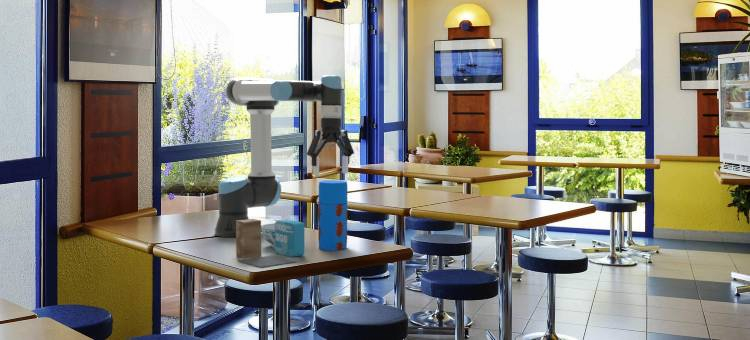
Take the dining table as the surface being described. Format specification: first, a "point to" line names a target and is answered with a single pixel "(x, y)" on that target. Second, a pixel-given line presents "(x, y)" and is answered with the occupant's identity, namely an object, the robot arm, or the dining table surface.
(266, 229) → the chinaware
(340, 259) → the dining table surface
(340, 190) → the thermos
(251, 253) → the block
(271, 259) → the mat
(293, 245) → the data package
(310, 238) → the dining table surface
